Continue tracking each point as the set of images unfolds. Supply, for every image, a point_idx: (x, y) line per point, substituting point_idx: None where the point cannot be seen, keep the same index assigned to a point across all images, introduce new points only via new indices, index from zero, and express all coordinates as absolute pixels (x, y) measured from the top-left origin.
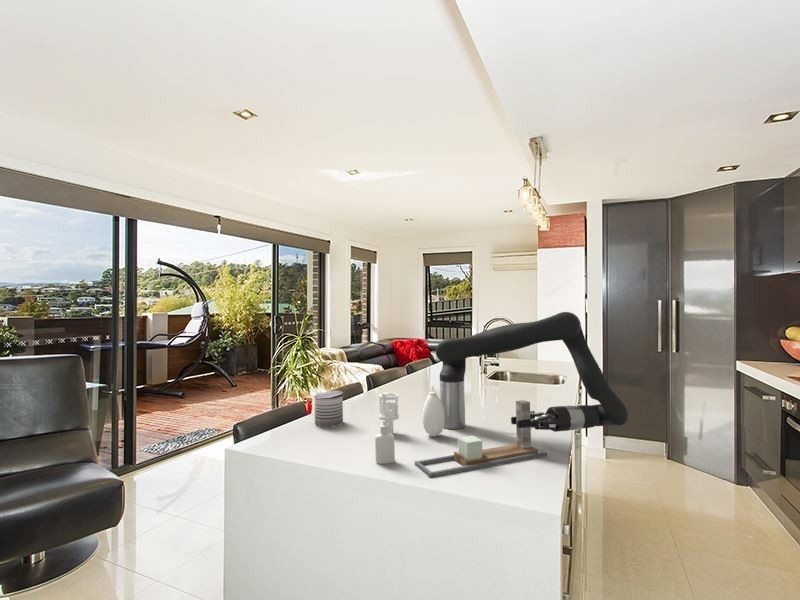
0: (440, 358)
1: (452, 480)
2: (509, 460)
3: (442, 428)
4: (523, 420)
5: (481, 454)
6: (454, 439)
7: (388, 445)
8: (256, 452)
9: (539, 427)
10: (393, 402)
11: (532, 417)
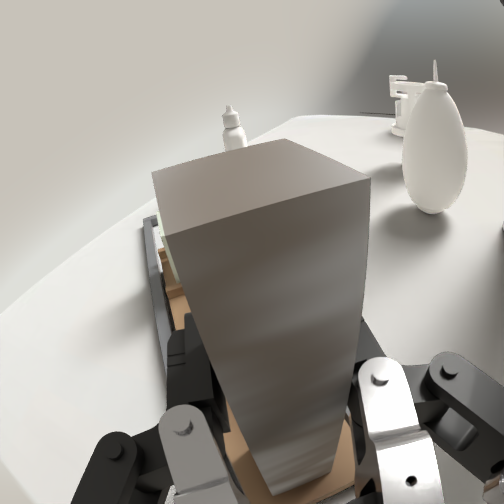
0: (501, 2)
1: (116, 251)
2: (166, 374)
3: (429, 197)
4: (185, 346)
5: (174, 276)
6: (422, 244)
7: (225, 150)
8: (289, 122)
9: (141, 496)
10: (404, 98)
11: (487, 484)
